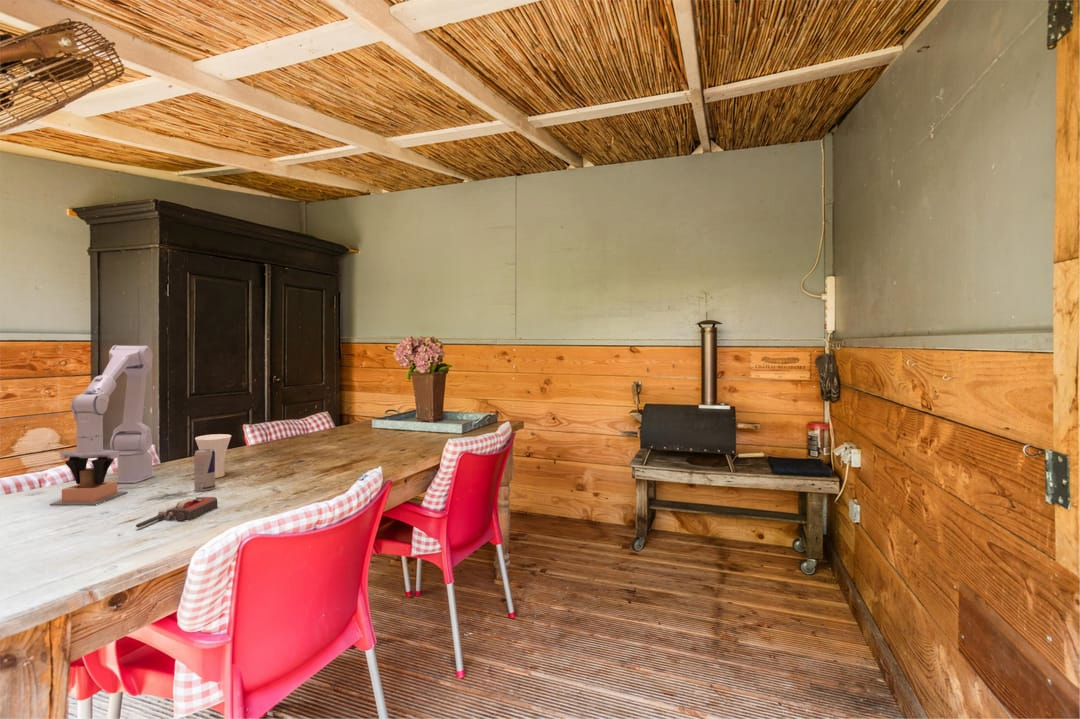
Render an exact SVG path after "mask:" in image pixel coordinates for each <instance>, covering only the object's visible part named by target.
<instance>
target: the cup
mask: <svg viewBox="0 0 1080 719" xmlns="http://www.w3.org/2000/svg"><path fill="white" fill-rule="evenodd" d="M231 438H232V435H231V434H225V433H223V434H222V433H217V434H205V435H200V436H196V437H195V438H194V440H195V442H196V445H197V447H198V450H203V449H213V450H214V452H215V479H216V478H217V479H218V478H221V477H224V476H225V474H226V473H225V459H226V453H227V451H228V447H229V444H230V441H231Z"/></svg>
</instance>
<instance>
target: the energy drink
mask: <svg viewBox="0 0 1080 719" xmlns="http://www.w3.org/2000/svg"><path fill="white" fill-rule="evenodd" d="M194 452H195V453H194V454H193V456H194V457H193V458H194V466H193V467H194V469H193V470H194V478H193V479H194V481H193V482H194V488H193V489H194V491H195V492H208V491H207V490H209V491H212V490H214V489H215V488H216V478H215V452H214V450H213V449H203V450H199V449H198V450H194ZM211 489H212V490H211Z"/></svg>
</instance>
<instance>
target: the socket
mask: <svg viewBox="0 0 1080 719" xmlns="http://www.w3.org/2000/svg"><path fill="white" fill-rule="evenodd" d="M126 493H127V494H128V491H118V483H117V481H114V480H111V481H109V480H108V481H105V480H104V482H103V483H100V484H99V486H97V487H94V488H80V484H77V483H76V484H75V485H72V486H71V485H70V486H68V487H66V488H63V489H61V499H60V500H57V501H55V502H52V503H49V506H50V505H88V506H97V505H96V504H99V503H101V504H103V503H102V502H104V501H106V502H108V501H107V500H109V501H111V500H113V498H114V499H116V498H119V497H121V496H120V495H122V496H123V494H124V495H126ZM118 496H119V497H118ZM115 497H116V498H115ZM110 499H111V500H110ZM104 503H105V502H104ZM99 505H100V504H99Z"/></svg>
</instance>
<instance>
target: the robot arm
mask: <svg viewBox="0 0 1080 719" xmlns="http://www.w3.org/2000/svg"><path fill="white" fill-rule="evenodd" d="M153 357H154V356H153V352H152V350H151V348H150V347H149V346H148V345H118V344H114V345H113V346H112V347H111V348H110V349H109V351H108V359H109V361H108V363H107V364H106V367H105V368H104V370H103V372H102V374H100V375H96V376H95V377H93V380H91V382H90V383H89V385H88V386H87V388H86V389H85V390H84V391H83V392H82V394H78V395H76V396H74V397H73V399H72V401H71V404H70V410H71V412H72V413H73V419H74V421H76V424H75V425H76V450H64V451H60V454H59V455H60V459H63V460H64V459H68V460H65V465H66V466H67V467H68V468H69V470H70V472H71V474H72V475H73V478H74V480H75V483H76V485H77V484H80V473H79V471H80V470H83V469H87V464H88V460H89V459H93V460H91V464H92V468H94V471H95V482H96V484H100V483H103V482H104V481H105V479H106V475H107V472H108V471H109V469H110V466H111V465H112V463H113V462H114V460H115V459H117V479H116V478H115V479H114V480H113V481H117V484H136V483H140V482H142V481H145V480H147V479H150V478H153V477H155V476H156V474H154V473H153V456H152V454H151V452H149V451H150V449H151V448H152V446H153V436H152V429H151V428H150V427H149V426H147V425H146V424H144V423H143V417H144V406H145V396H146V386H147V376H148V375H147V374H148V373H149V372H151V371H152V366H153ZM122 373H125V374H126V375H127V376H126V377H127V378H126V385H125V386H126V389H125V396H124V397H125V398H124V405H123V406H124V407H123V415H122V416H123V418H122V423H121V424H119V425H118V426H116V427H115V428H114V429H113V430H112V431H113V432H112V435H111V438H110V441H109V448H110V449H104V423H103V422H104V413H105V412H106V411H107V410H108V407H109V402H110V396H112V393H113V392H114V390H115V389H116V387H117V381H116V380H118V378H119V377H120V376H121V375H122Z"/></svg>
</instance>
